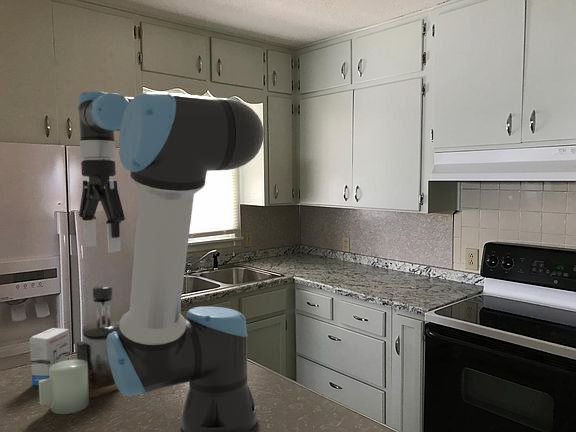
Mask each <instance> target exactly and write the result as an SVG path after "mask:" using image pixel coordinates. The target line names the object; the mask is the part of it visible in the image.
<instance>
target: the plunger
mask: <svg viewBox="0 0 576 432" xmlns="http://www.w3.org/2000/svg"><path fill="white" fill-rule="evenodd" d="M113 297H114V296H113V286H111V285H100V286H99V285H98V286H94V287H92V301H93V302H95V303H100V304H101V305H100V308H101V309H100V310H101V322H102V325H105V324H106V321H107V319H106V302H110V301H113Z"/></svg>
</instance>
